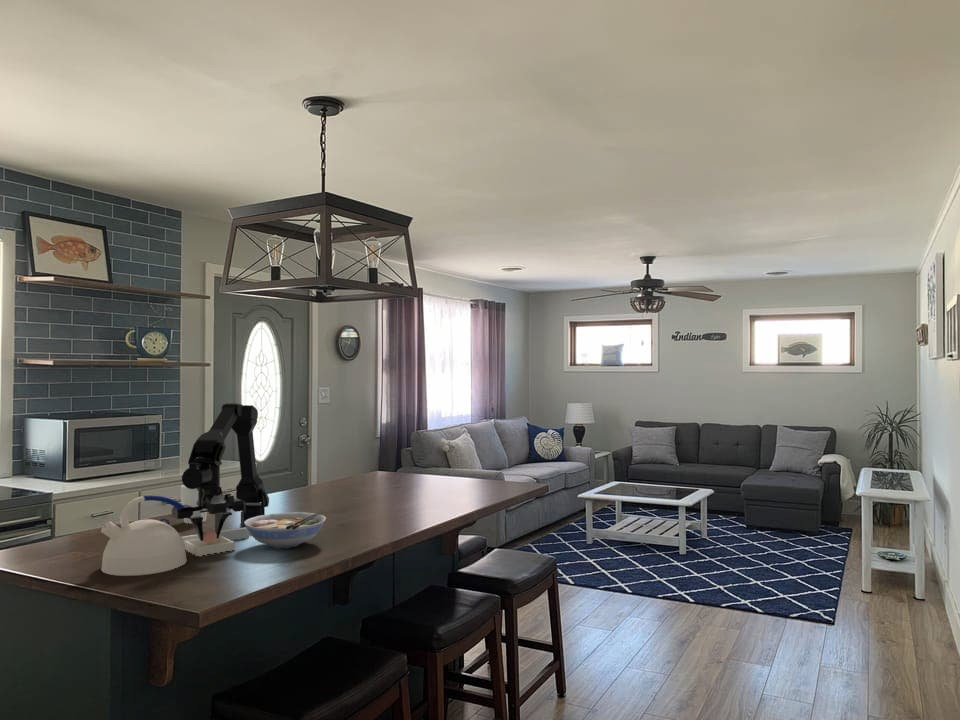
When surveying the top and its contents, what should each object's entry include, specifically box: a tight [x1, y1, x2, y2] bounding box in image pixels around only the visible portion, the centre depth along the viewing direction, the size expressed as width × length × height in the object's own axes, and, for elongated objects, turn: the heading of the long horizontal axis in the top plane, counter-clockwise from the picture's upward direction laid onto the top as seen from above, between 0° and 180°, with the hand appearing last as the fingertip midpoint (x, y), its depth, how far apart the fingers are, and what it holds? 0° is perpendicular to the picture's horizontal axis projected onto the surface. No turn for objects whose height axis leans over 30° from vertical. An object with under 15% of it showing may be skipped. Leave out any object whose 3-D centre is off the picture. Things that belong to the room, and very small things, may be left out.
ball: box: [203, 528, 217, 544], centre depth 210 cm, size 4×4×4 cm
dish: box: [184, 536, 236, 557], centre depth 210 cm, size 10×10×2 cm
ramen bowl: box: [244, 510, 327, 549], centre depth 215 cm, size 25×23×8 cm
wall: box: [181, 527, 250, 542], centre depth 219 cm, size 20×1×3 cm, turn 130°
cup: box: [179, 484, 208, 525], centre depth 249 cm, size 9×9×12 cm
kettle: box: [100, 495, 188, 577], centre depth 195 cm, size 20×21×18 cm
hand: (209, 539), depth 210 cm, fingers closed on ball, 4 cm apart
